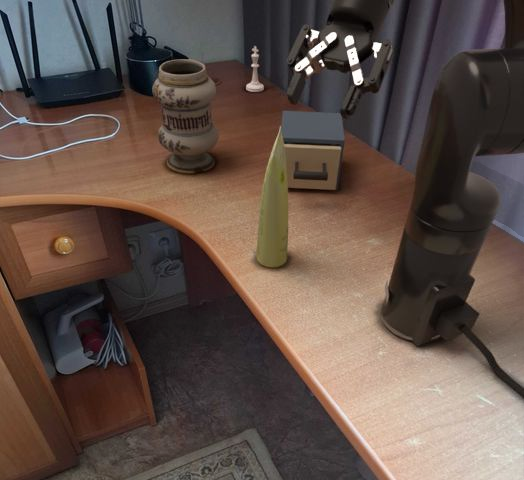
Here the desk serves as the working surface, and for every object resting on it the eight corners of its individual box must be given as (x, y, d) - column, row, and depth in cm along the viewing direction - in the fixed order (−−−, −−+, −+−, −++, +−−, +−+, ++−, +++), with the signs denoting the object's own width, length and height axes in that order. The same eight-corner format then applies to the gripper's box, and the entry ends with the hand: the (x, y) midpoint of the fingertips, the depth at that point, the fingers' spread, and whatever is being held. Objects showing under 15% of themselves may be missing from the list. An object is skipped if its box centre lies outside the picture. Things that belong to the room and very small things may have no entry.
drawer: (336, 204, 86) (342, 162, 80) (279, 201, 86) (281, 159, 80) (333, 162, 97) (338, 123, 91) (283, 159, 98) (285, 121, 92)
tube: (295, 263, 75) (306, 141, 61) (269, 274, 73) (273, 150, 59) (275, 246, 78) (280, 125, 64) (249, 256, 76) (249, 133, 62)
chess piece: (257, 93, 126) (257, 50, 118) (242, 89, 127) (241, 47, 120) (267, 88, 129) (268, 45, 121) (252, 84, 130) (252, 42, 123)
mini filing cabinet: (337, 190, 91) (344, 140, 84) (278, 187, 92) (280, 137, 84) (335, 160, 100) (341, 113, 93) (280, 157, 100) (282, 110, 93)
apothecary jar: (177, 182, 92) (165, 81, 79) (152, 158, 99) (137, 61, 86) (230, 167, 97) (227, 70, 84) (203, 145, 104) (196, 52, 90)
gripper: (313, -32, 64) (265, 83, 66) (412, -19, 59) (356, 106, 61) (327, 8, 71) (283, 111, 73) (416, 23, 66) (366, 133, 68)
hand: (317, 108), depth 67 cm, fingers open, 8 cm apart
